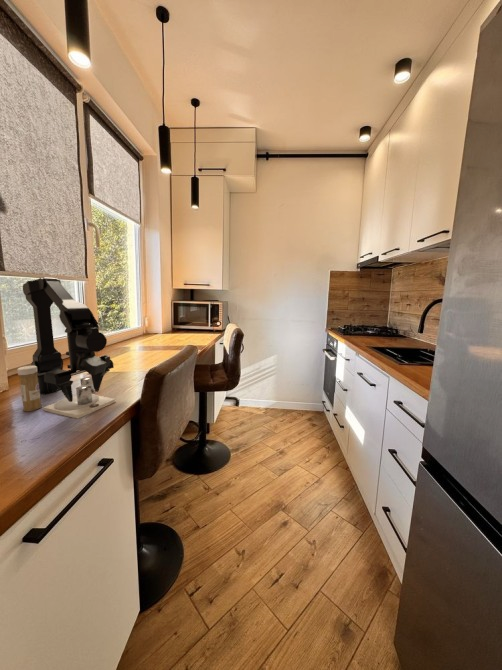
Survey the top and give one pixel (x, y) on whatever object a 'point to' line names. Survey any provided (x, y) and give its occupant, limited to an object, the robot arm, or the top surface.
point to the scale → (78, 406)
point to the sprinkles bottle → (29, 388)
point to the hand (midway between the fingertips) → (84, 396)
